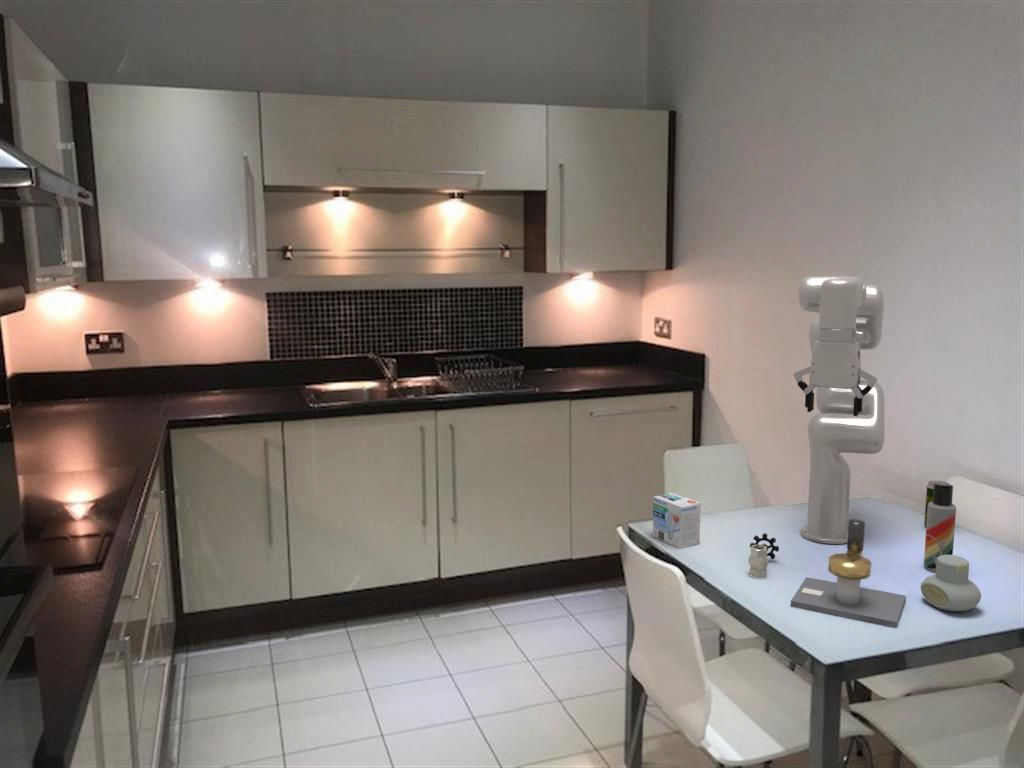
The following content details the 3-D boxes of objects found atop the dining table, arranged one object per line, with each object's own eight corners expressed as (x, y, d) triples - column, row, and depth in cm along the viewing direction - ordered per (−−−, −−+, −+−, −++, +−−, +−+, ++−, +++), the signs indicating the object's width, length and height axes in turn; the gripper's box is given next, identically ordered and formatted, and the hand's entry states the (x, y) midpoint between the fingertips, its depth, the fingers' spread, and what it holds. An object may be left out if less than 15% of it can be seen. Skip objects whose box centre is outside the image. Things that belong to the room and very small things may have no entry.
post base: (806, 582, 187) (807, 551, 186) (905, 601, 177) (907, 569, 176) (790, 606, 175) (791, 574, 174) (896, 627, 165) (898, 593, 164)
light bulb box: (651, 536, 217) (652, 495, 215) (671, 531, 220) (672, 491, 218) (680, 549, 208) (681, 507, 206) (700, 544, 211) (701, 502, 209)
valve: (771, 580, 188) (778, 561, 199) (772, 552, 187) (779, 534, 198) (741, 576, 191) (749, 557, 202) (742, 548, 190) (750, 531, 201)
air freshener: (987, 613, 171) (991, 565, 169) (956, 620, 168) (960, 572, 166) (942, 592, 181) (946, 547, 179) (912, 598, 178) (915, 553, 176)
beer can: (938, 524, 222) (941, 479, 220) (951, 531, 217) (955, 485, 215) (919, 525, 221) (922, 481, 219) (932, 532, 216) (936, 487, 214)
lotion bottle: (924, 571, 192) (930, 486, 188) (922, 562, 197) (928, 479, 193) (953, 574, 190) (959, 488, 186) (949, 565, 195) (956, 481, 192)
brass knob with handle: (875, 558, 181) (878, 522, 179) (867, 582, 169) (870, 543, 167) (836, 552, 184) (837, 516, 183) (825, 575, 173) (827, 536, 171)
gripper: (882, 336, 184) (877, 413, 187) (799, 332, 193) (796, 406, 196) (876, 339, 178) (872, 420, 181) (791, 336, 187) (788, 412, 190)
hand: (832, 413), depth 188 cm, fingers open, 9 cm apart
